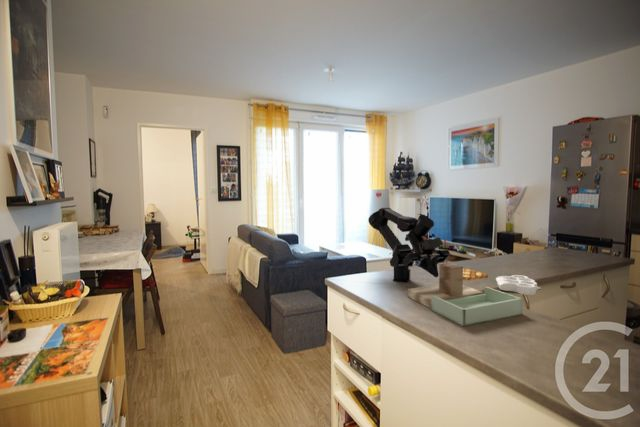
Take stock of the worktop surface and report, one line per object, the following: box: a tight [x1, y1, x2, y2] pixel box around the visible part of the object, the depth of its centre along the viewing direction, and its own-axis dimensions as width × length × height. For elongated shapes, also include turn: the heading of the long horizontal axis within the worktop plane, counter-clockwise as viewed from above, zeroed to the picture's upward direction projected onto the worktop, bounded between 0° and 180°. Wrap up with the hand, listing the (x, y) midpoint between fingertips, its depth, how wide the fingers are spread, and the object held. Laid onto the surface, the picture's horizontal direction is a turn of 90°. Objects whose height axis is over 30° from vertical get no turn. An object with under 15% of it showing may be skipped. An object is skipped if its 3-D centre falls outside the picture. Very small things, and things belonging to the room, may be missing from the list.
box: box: [430, 286, 523, 327], centre depth 107 cm, size 14×24×5 cm, turn 111°
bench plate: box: [407, 283, 484, 309], centre depth 120 cm, size 14×22×3 cm, turn 111°
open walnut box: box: [438, 262, 464, 296], centre depth 117 cm, size 6×5×10 cm
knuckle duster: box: [495, 274, 542, 296], centre depth 131 cm, size 3×18×15 cm
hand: (437, 276), depth 124 cm, fingers closed
